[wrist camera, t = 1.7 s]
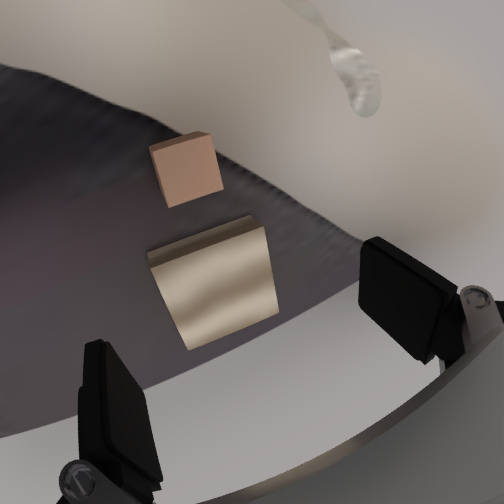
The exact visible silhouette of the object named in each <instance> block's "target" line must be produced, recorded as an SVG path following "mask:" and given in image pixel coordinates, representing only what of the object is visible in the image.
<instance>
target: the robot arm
mask: <svg viewBox="0 0 504 504" xmlns="http://www.w3.org/2000/svg"><path fill="white" fill-rule="evenodd" d="M457 289H458V286H456V285H455V284H453V283H452V282H450V281H449V280H447V279H446V278H444V277H443V276H441V275H440V274H438V273H437V272H435V271H434V270H432V269H431V268H429V267H427V266H426V265H424V264H423V263H421V262H419V261H418V260H417V259H415V258H413V257H412V256H410V255H409V254H407V253H405V252H404V251H402V250H400V249H399V248H397V247H395V246H394V245H392V244H391V243H389V242H387V241H386V240H384V239H382V238H381V237H378V236H376V237H373V238H371V239H368V240H366V241H364V243H363V246H362V247H361V250H360V277H359V296H358V297H359V298H358V303H359V306H360V308H361V309H362V310H363V311H364V312H365V313H366V314H367V315H368V316H369V317H370V318H371V319H372V320H374V321H375V322H376V323H377V324H378V325H379V326H380V327H381V328H382V329H383V330H384V331H386V332H387V333H388V334H389V335H390V336H391V337H392V338H393V339H394V340H395V341H396V342H397V343H398V344H400V346H402V347H403V348H404V349H405V350H406V351H407V352H408V353H409V354H410V355H411V356H412V357H413V358H414V359H416V360H420V361H421V362H422V363H423V364H424V365H426V364H427V363H428V362H429V361H431V360H432V359H433V358H434V357H435V355H436V356H437V357H438V358H439V365H440V376H439V377H437V378H436V379H435V380H434V381H433V382H431V383H430V384H429V385H428V386H426V387H425V388H424V389H422V390H421V391H420V392H419V393H417V394H416V395H415V396H413V397H412V398H411V399H409V400H408V401H407V402H405V403H404V404H403V405H401V406H400V407H398V408H397V409H396V410H394V411H393V412H391V413H390V414H388V415H387V416H385V417H384V418H382V419H381V420H379V421H378V422H376V423H375V424H373V425H372V426H370V427H369V428H367V429H365V430H364V431H362V432H361V433H359V434H357V435H356V436H354V437H352V438H351V439H349V440H347V441H345V442H344V443H342V444H340V445H338V446H336V447H335V448H333V449H331V450H329V451H327V452H325V453H323V454H322V455H320V456H318V457H316V458H314V459H312V460H310V461H308V462H306V463H304V464H301V465H300V466H297V467H295V468H293V469H291V470H289V471H286V472H284V473H282V474H279V475H277V476H275V477H272V478H270V479H267V480H265V481H262V482H260V483H257V484H255V485H252V486H249V487H247V488H244V489H241V490H238V491H235V492H232V493H229V494H226V495H223V496H221V497H218V498H214V499H211V500H208V501H204V502H201V503H197V504H504V301H494V299H493V297H492V295H491V294H490V293H489V292H488V291H487V290H485V289H484V288H482V287H479V286H474V285H471V286H466V287H465V288H463V289H462V290H461V292H460V295H459V294H457V293H456V292H457ZM78 443H79V460H73V461H71V462H69V463H68V464H66V465H65V466H64V468H63V469H62V471H61V473H60V476H59V487H60V490H61V492H62V494H63V495H62V497H61V498H60V500H59V501H58V502H57V503H56V504H156V503H155V502H153V500H154V497H153V493H152V492H154V491H158V490H162V489H161V486H160V482H162V481H163V475H162V471H161V468H160V464H159V460H158V456H157V452H156V447H155V443H154V439H153V434H152V430H151V425H150V420H149V415H148V409H147V405H146V399H145V395H144V393H143V391H142V389H141V387H140V386H139V385H138V383H137V382H136V381H135V379H134V378H133V376H132V375H131V374H130V372H129V371H128V369H127V368H126V367H125V365H124V364H123V362H122V361H121V359H120V358H119V356H118V355H117V353H116V352H115V350H114V349H113V347H112V346H111V344H110V343H109V342H108V341H107V342H104V341H103V340H102V339H98V340H95V341H92V342H89V343H86V344H85V350H84V365H83V386H81V387H80V388H79V391H78Z"/></svg>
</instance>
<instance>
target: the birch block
mask: <svg viewBox="0 0 504 504" xmlns="http://www.w3.org/2000/svg"><path fill="white" fill-rule="evenodd" d="M147 255H148V260H149V264H150V269H151V271H152V274H153V276H154V278H155V281H156V283H157V285H158V287H159V290H160V292H161V294H162V296H163V299H164V301H165V303H166V305H167V307H168V309H169V312H170V314H171V316H172V318H173V320H174V322H175V324H176V326H177V328H178V331H179V333H180V335H181V337H182V339H183V341H184V343H185V345H186V347H187V349H188V351H189V350H191V349H194V348H196V347H199V346H201V345H204V344H206V343H209V342H211V341H214V340H216V339H219V338H221V337H223V336H226V335H228V334H231V333H233V332H235V331H238V330H240V329H242V328H245V327H247V326H249V325H252V324H254V323H256V322H259V321H261V320H263V319H265V318H268V317H270V316H272V315H274V314H277V313H279V309H278V303H277V298H276V292H275V286H274V281H273V275H272V269H271V264H270V258H269V253H268V247H267V242H266V236H265V231H264V226H263V225H262V224H260V223H259V222H258V221H257V220H255V219H254V218H253V217H252V216H251V215H248V216H246V217H243V218H240V219H237V220H234V221H231V222H229V223H226V224H223V225H220V226H217V227H215V228H212V229H209V230H206V231H204V232H201V233H198V234H195V235H193V236H190V237H187V238H185V239H182V240H179V241H176V242H174V243H171V244H168V245H166V246H163V247H161V248H158V249H155V250H153V251H150V252H147Z"/></svg>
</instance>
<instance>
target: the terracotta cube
mask: <svg viewBox="0 0 504 504" xmlns="http://www.w3.org/2000/svg"><path fill="white" fill-rule="evenodd" d="M148 147H149V151H150V154H151V158H152V161H153V165H154V168H155V172H156V175H157V179H158V182H159V185H160V189H161V192H162V195H163V197H164V199H165V201H166V203H167V205H168V207H169V208H170V207H173V206H176V205H178V204H181V203H184V202H187V201H190V200H193V199H196V198H199V197H202V196H205V195H208V194H211V193H214V192H217V191H220V190H223V189H224V188H223V184H222V180H221V176H220V171H219V167H218V163H217V158H216V154H215V149H214V145H213V141H212V136H211V134H208V133H203V132H198V131H197V132H193V133H190V134H186V135H183V136H180V137H176V138H173V139H170V140H166V141H163V142H160V143H157V144H154V145H151V146H148Z"/></svg>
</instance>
